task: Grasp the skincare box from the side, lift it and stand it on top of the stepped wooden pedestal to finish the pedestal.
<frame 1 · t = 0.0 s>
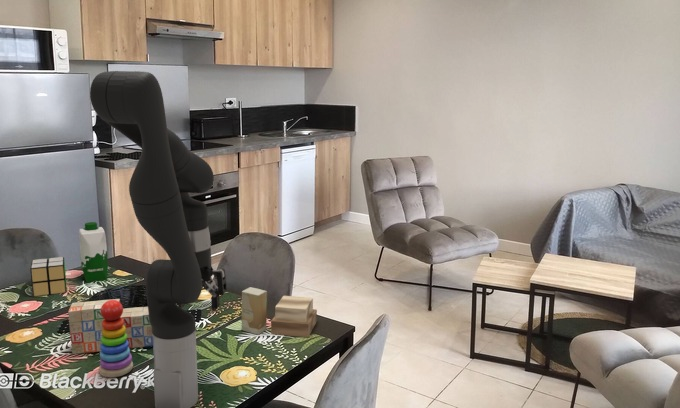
hand: (198, 307, 140), 17 cm above the table, tool pointing down, fingers open, 8 cm apart
stacking toy: (116, 371, 144), on the table
stack of blocks: (115, 345, 158), on the table
stepped wooden pedestal: (294, 327, 170), on the table
milk carton: (95, 278, 209), on the table
puzzle cube: (50, 290, 197), on the table
skincare box: (254, 330, 168), on the table
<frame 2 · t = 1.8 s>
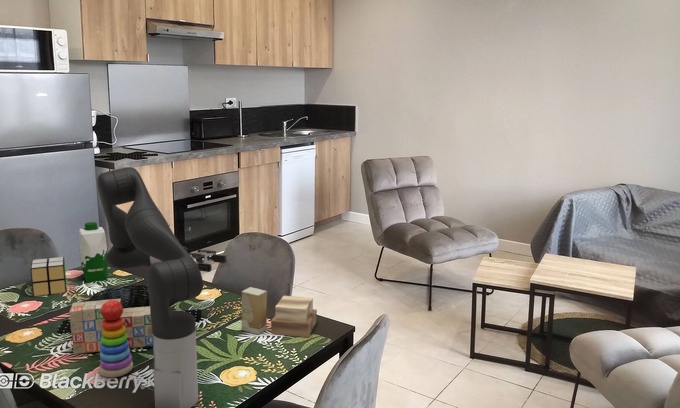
hand: (218, 263, 168), 19 cm above the table, tool horizontal, fingers open, 8 cm apart
nothing on the table moved.
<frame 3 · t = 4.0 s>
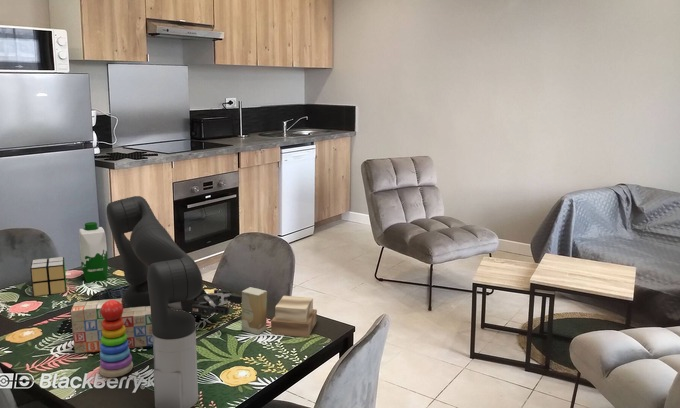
hand: (235, 305, 168), 7 cm above the table, tool horizontal, fingers open, 8 cm apart
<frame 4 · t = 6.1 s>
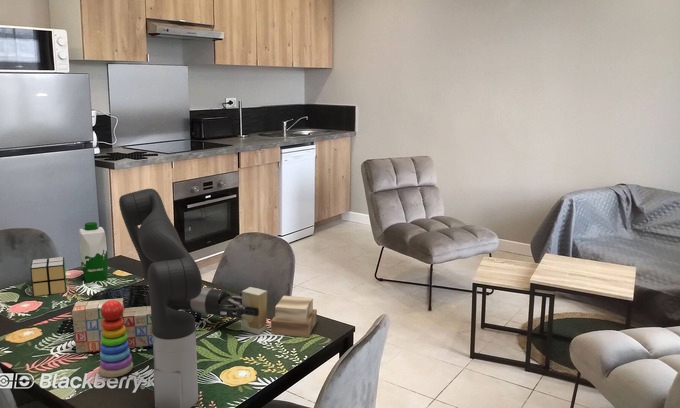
hand: (262, 308, 166), 7 cm above the table, tool horizontal, fingers closed on skincare box, 5 cm apart
skincare box: (254, 330, 168), on the table, touching gripper
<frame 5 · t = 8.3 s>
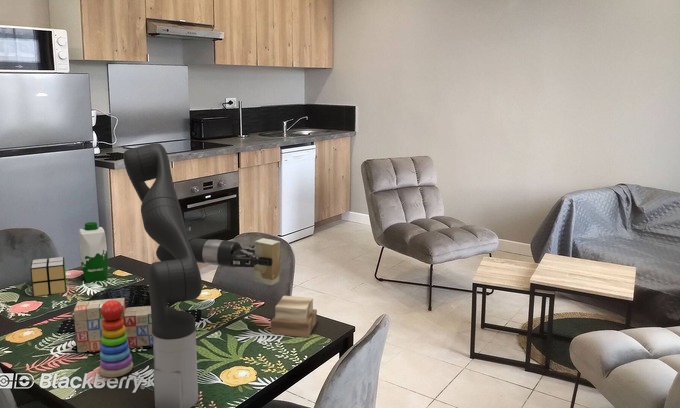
hand: (275, 259, 164), 22 cm above the table, tool horizontal, fingers closed on skincare box, 5 cm apart
skincare box: (267, 282, 166), point 14 cm above the table, touching gripper
when the fingers open (16 cm above the table, at t = 10.4 s): skincare box drops 1 cm, resting on stepped wooden pedestal.
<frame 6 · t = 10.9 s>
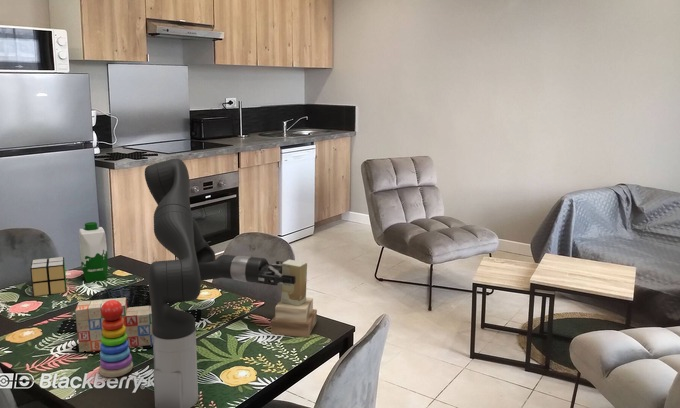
hand: (300, 275, 166), 17 cm above the table, tool horizontal, fingers open, 8 cm apart
skincare box: (294, 302, 169), point 8 cm above the table, touching stepped wooden pedestal
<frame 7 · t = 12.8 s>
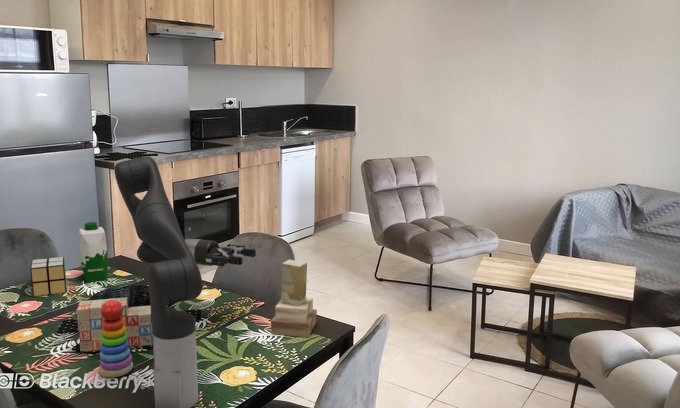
hand: (248, 257, 168), 21 cm above the table, tool horizontal, fingers open, 8 cm apart
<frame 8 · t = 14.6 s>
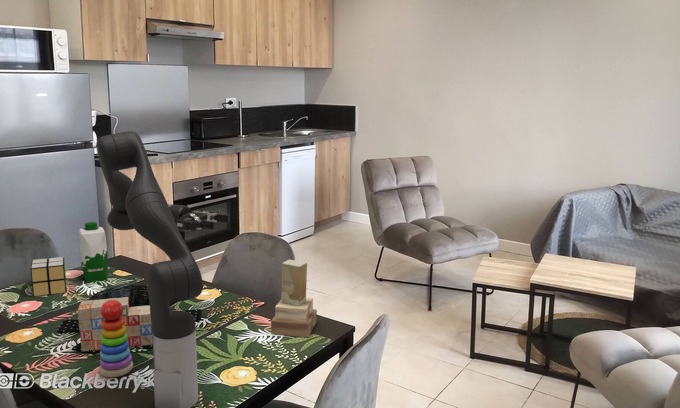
hand: (221, 222, 163), 32 cm above the table, tool horizontal, fingers open, 8 cm apart
at the end: skincare box inside the target area on the stepped wooden pedestal (0.1 cm from its centre), point 7.8 cm above the stepped wooden pedestal's base; skincare box tilted 0°; the gripper is holding nothing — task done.
